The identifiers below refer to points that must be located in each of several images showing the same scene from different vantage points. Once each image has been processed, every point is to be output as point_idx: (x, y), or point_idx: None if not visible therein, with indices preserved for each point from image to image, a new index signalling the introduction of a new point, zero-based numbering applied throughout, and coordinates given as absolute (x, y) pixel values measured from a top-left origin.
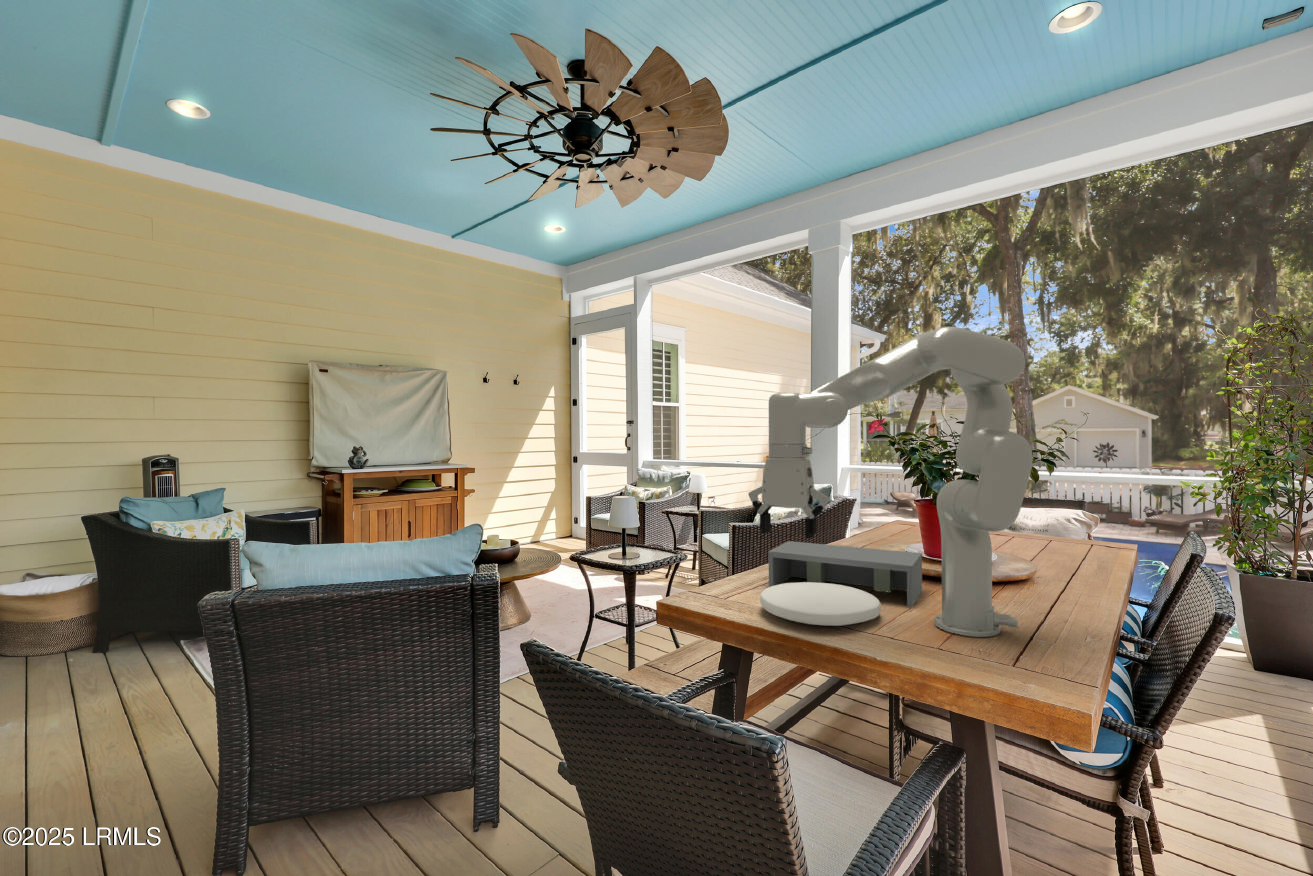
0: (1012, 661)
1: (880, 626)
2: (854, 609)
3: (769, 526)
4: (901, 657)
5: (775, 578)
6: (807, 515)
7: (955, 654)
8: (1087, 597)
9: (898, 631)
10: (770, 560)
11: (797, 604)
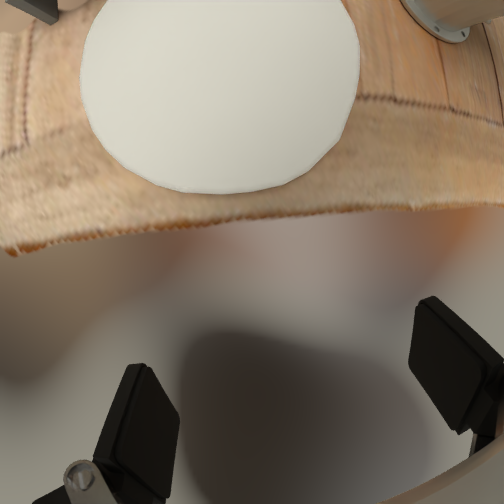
0: (500, 110)
1: None
2: (349, 93)
3: (149, 400)
4: (432, 178)
5: (48, 5)
6: (474, 442)
7: (468, 120)
8: None
9: (386, 60)
10: (21, 5)
11: (236, 165)
